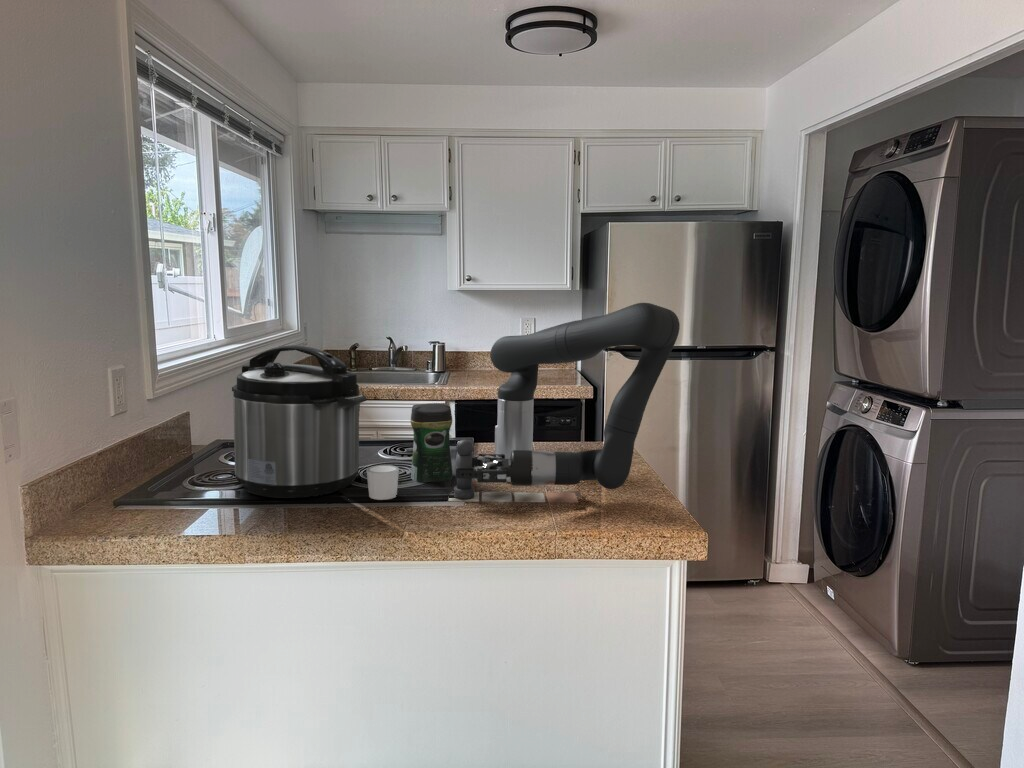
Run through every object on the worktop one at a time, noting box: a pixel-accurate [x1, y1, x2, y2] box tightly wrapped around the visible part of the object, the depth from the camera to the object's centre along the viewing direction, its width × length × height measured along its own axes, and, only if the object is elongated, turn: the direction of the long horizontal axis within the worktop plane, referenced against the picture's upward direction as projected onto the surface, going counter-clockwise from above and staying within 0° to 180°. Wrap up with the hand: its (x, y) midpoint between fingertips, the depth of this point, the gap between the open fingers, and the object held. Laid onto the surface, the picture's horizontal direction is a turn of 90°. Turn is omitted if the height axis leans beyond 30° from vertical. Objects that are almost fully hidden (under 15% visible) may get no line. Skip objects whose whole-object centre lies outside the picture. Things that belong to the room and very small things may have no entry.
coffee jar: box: [409, 402, 454, 483], centre depth 161 cm, size 10×8×19 cm
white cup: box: [366, 464, 400, 501], centre depth 147 cm, size 7×7×7 cm
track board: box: [447, 490, 587, 511], centre depth 148 cm, size 30×10×1 cm, turn 92°
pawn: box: [453, 439, 476, 500], centre depth 147 cm, size 4×4×12 cm
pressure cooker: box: [231, 345, 367, 499], centre depth 156 cm, size 30×28×32 cm
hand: (456, 467), depth 147 cm, fingers open, 8 cm apart
